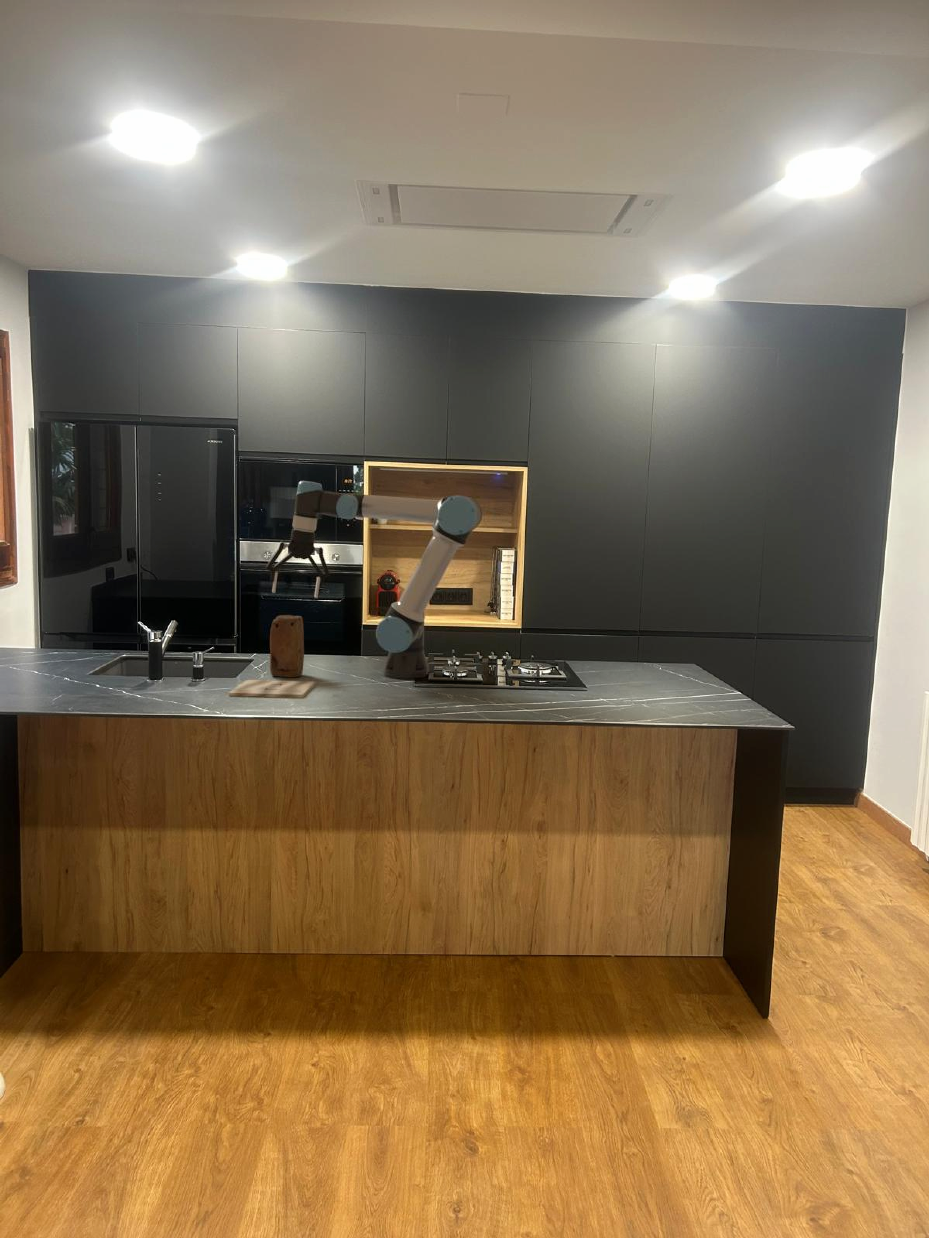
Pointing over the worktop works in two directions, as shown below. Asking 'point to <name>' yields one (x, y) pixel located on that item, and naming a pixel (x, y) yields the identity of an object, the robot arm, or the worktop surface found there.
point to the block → (287, 646)
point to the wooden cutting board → (273, 688)
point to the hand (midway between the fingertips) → (294, 594)
